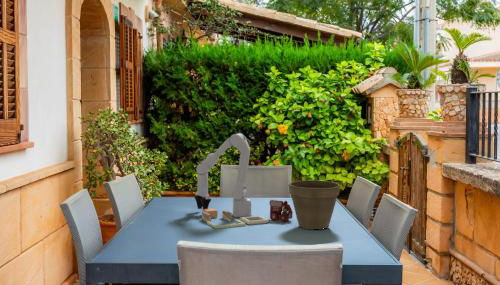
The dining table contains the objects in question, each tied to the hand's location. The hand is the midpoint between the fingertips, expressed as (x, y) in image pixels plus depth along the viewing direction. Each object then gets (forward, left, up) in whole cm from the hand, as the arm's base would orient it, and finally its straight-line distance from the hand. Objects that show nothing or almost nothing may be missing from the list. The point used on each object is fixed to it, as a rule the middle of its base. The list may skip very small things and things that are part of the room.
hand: (202, 210), depth 303 cm
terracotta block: (0, +10, -2) cm, 11 cm away
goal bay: (0, +30, -2) cm, 30 cm away
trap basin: (-16, +30, -2) cm, 34 cm away
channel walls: (0, +19, -2) cm, 19 cm away
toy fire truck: (-31, +31, -2) cm, 44 cm away
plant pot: (-38, +51, -2) cm, 64 cm away
